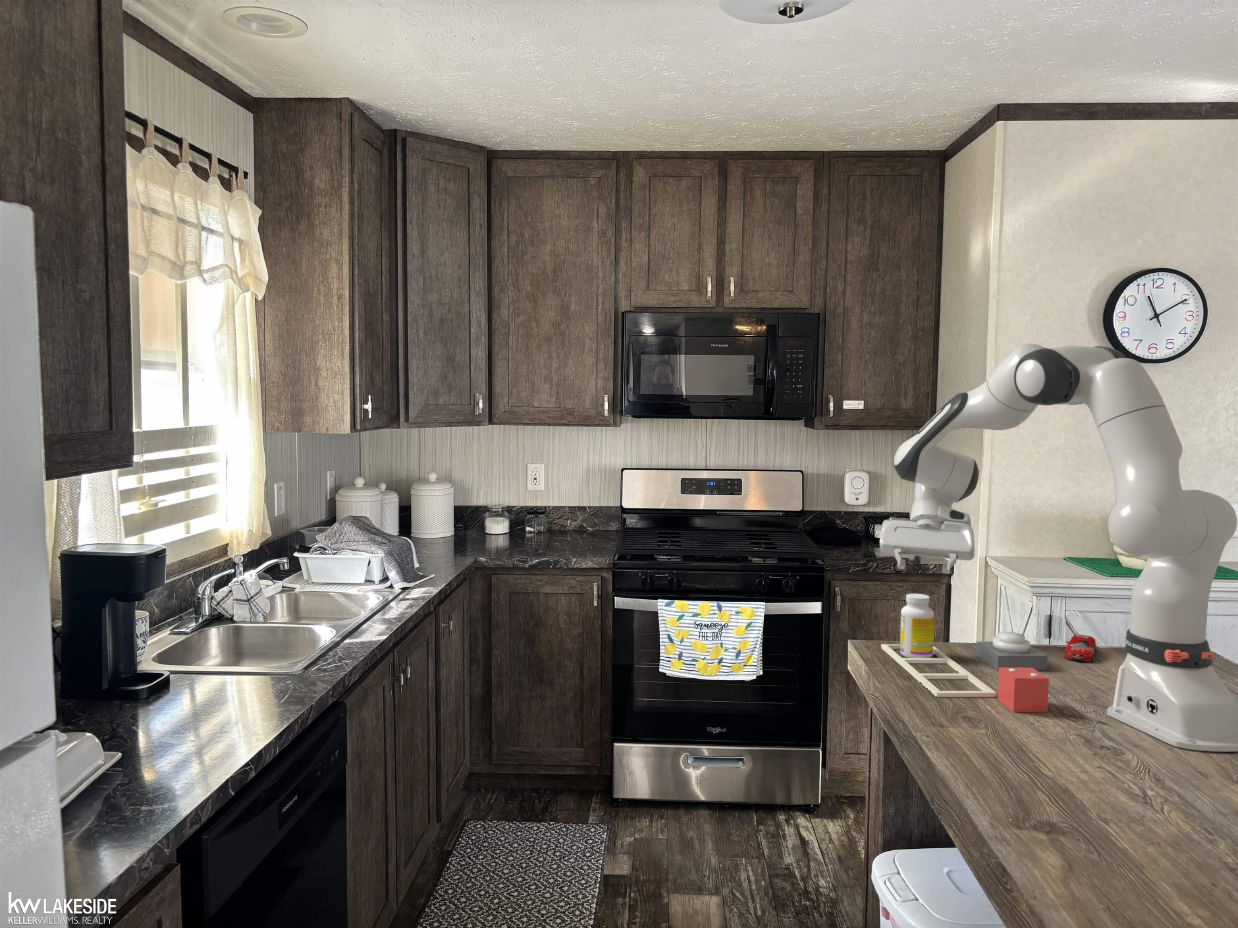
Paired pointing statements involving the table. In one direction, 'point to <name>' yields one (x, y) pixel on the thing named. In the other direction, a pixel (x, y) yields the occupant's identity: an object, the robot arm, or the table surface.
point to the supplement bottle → (917, 627)
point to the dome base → (1011, 657)
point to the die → (1023, 689)
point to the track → (942, 659)
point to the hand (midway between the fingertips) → (923, 569)
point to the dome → (1011, 642)
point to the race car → (1081, 648)
